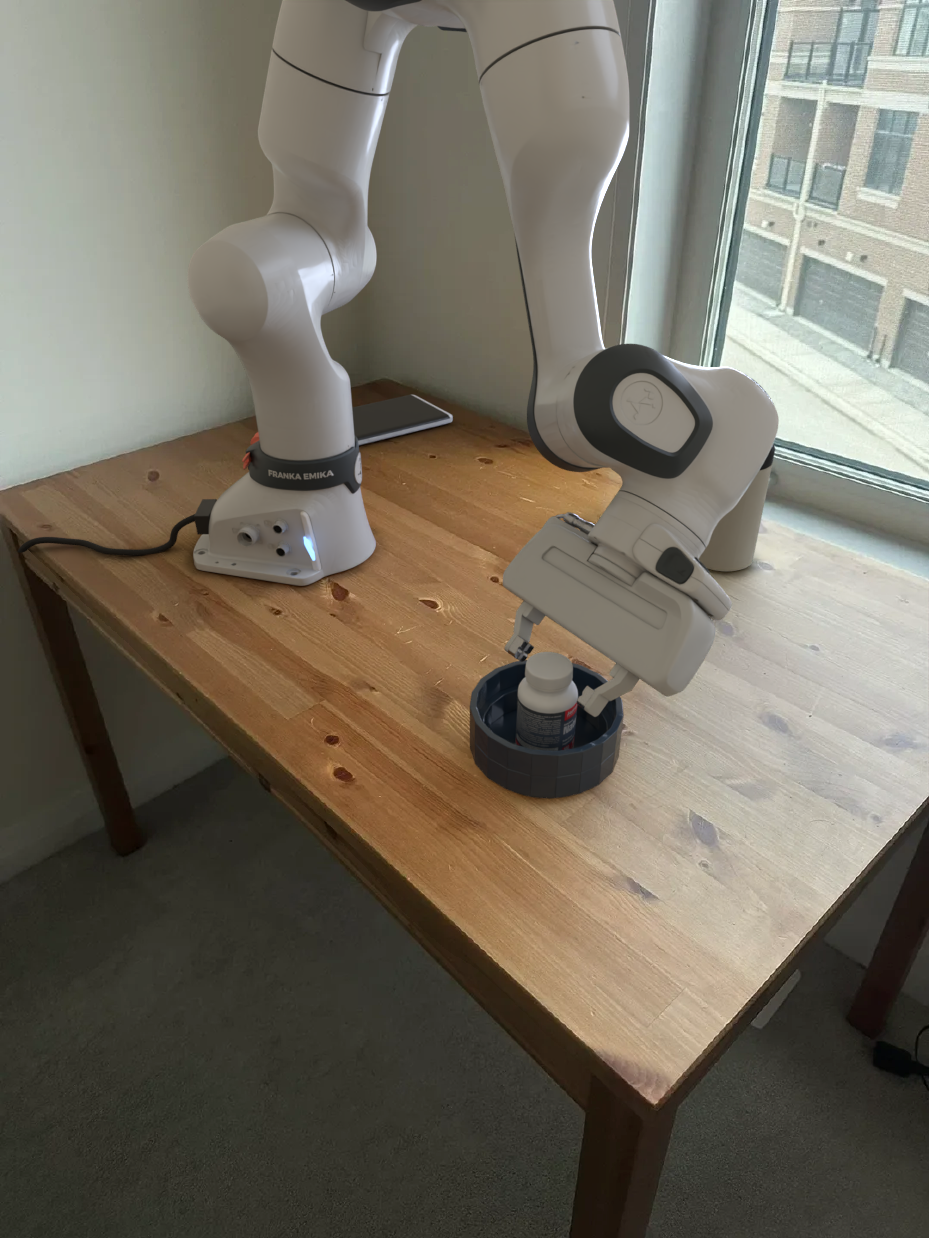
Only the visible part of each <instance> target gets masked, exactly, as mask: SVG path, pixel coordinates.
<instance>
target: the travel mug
mask: <svg viewBox="0 0 929 1238" xmlns="http://www.w3.org/2000/svg"><path fill="white" fill-rule="evenodd" d="M775 453H776V447H775V442H774V443H773V446H772V448H771V450H770V452H769V454H768V456H767V458H766V460H765V461H764V463H763V465H762V467H761V468H760V470H759V472H758V473H757V475H756V476H755V478H754V480H753V481H752V483H751V484H750V486H749V487H748V489H747V490H746V492H745V493H744V495H743V496H742V498H741V499H740V501H739V502H738V503H737V505H736V506H735V507H734V508H733V509H732V510H731V511H730V512H728V513H727V514H726V515H725V516H724V517H723V518H722V519H721V520H720V521H719V522H718V524H717V525H716V527H715V528H714V530H713V533H712V535H711V538H710V541H709V544H708V546H707V547H706V549H705V550H704V552H703V553H702V554H701V556H700V557H699V560H700V562H701V563H703V564H704V565H705V566H706V568H707V569H708V570H712V571H716V572H717V571H718V572H734V571H739V570H740V571H741V570H744V569H746V568H748V567H750V566H751V564H752V563H753V562H754V557H755V553H756V546H757V542H758V537H759V533H760V527H761V523H762V518H763V513H764V508H765V502H766V497H767V494H768V493H767V492H768V487H769V483H770V478H771V477H770V476H771V474H772V473H771V472H772V467H773V463H774V458H775Z"/></svg>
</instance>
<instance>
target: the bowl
mask: <svg viewBox="0 0 929 1238" xmlns="http://www.w3.org/2000/svg"><path fill="white" fill-rule="evenodd" d="M527 660H528V659H526V660H525V661H523V662H521V661H519V660H515V661H512V662H510V663H507V664H504V665H501V666H498V667H496V668H494V669H493V670H491V671H490V672H488V673H486V674H485V675H484V676H482V677H481V678H480V680H479V681H478V682H477V684H476V685H475V686H474V688H473V690H472V691H471V694H470V701H469V751H470V753H471V756H472V759H473V762H474V764H475V766H476V767H477V768H478V769H479V770H480V771H481V772H482V774H483V775H484V776H485V777H486V778H487V779H488V780H489V781H491V782H493V783H495V784H497V786H500V787H501V788H503V789H505V790H507V791H510V792H512V793H515V794H518V795H521V796H525V797H529V798H535V799H548V800H549V799H551V800H552V799H562V798H567V797H572V796H575V795H580V794H583V793H585V792H587V791H590V790H592V789H594V788H596V787H598V786H599V785H601V784H602V783H603V782H604V781H605V780H606V779H607V778H609V776H610V775H612V774H613V772H614V770H615V767H616V765H617V762H618V760H619V757H620V751H621V750H620V749H621V741H622V734H623V725H624V716H625V714H624V703H623V699H622V697H621V696H620V697H618V698H616V699H614V700H612V701H608V703H607V704H606V706H605V707H604V708H603V710H602V711H601V713H600V714H599V715H598V716H596V717H594V716H592V715H591V714H589V713H588V712H586V711H585V710H584V709H582V708H581V707H580V706H579V705H577V713H576V724H575V738H574V747H573V748H572V749H565V750H559V751H552V750H535V749H530V748H526V747H523V746H519V745H516V725H517V698H518V687H519V684H520V682H521V681H522V680H523V679H524V678H525V669H526V662H527ZM572 665H573V678H572V681H573V682H574V683H575V685H576V687H577V690H578V698H579V696H581V695H582V692H583V690H584V689H585V688H586V686H589V687H590V688H592V689H593V690H595V689H596V688H598V687H600V686H601V685H603V684H605V683H606V682H608V681H609V680H607V678H605V677H604V676H603V675H601V674H600V673H598V672H596V671H594V670H592V669H590V668H588V667H586V666H584V665H581V664H580V663H575V662H572Z"/></svg>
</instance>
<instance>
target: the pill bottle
mask: <svg viewBox="0 0 929 1238" xmlns="http://www.w3.org/2000/svg"><path fill="white" fill-rule="evenodd" d="M526 660H527V662H526V669H525V678H524V679H523V680H522V681H521V682H520V684H519V687H518V698H517V725H516V745H519V746H523V747H526V748H530V749H535V750H552V751H559V750H565V749H572V748H573V747H574V738H575V724H576V713H577V699H578V690H577V687H576V685H575V683H574V682H573V681H572V678H573V665H572V663H573V662H572V661H571V659H569V658H568V657H567V656H566V655H564V654H562V653H559V652H554V651H541V652H537V653H534V654H532V655H531V656H529V657H528V658H527V659H526Z"/></svg>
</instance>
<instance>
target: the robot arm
mask: <svg viewBox="0 0 929 1238" xmlns="http://www.w3.org/2000/svg"><path fill="white" fill-rule="evenodd" d="M615 6H616V5H615V2H614V0H281V4H280V8H279V12H278V17H277V21H276V24H275V30H274V35H273V40H272V46H271V50H270V57H269V62H268V67H267V68H268V69H267V74H266V79H265V85H264V90H263V91H264V92H263V97H262V102H261V103H262V104H261V109H260V116H259V121H258V127H257V139H258V143H259V147H260V149H261V150H262V153H263V154H264V156H265V158H267V160H268V161H269V163H271V168H272V176H273V198H272V203H271V206H270V208H269V210H268V211H267V213H266V215H263V216H260V217H256V218H252V219H248V220H245V221H241V222H236V223H233V224H230V225H228V226H226V227H224V228H222V229H221V230H220V231H218V232H217V233H215V234H213V236H211V237H210V238H208V239H207V240H206V241H204V242H203V243H202V244H201V245H199V246H198V248H196V249H195V251H194V252H193V253H192V256H191V257H190V260H189V263H188V267H187V273H186V277H187V278H186V279H187V281H186V282H187V290H188V294H189V296H190V300H191V303H192V305H193V307H194V309H195V312H196V313H197V315H198V316H199V317H200V319H201V321H203V323H204V324H205V325H206V326H207V328H209V329H210V330H211V331H212V332H214V333H215V334H216V335H218V336H219V337H221V338H223V339H224V340H226V342H228V343H229V345H230V346H231V348H232V349H233V350H234V352H235V354H236V356H237V357H238V359H239V361H240V363H241V365H242V368H243V370H244V372H245V375H246V378H247V381H248V383H249V387H250V392H251V397H252V403H253V408H254V414H255V420H256V428H257V432H256V433H255V434H254V435H253V437H251V439H250V445H249V446H248V447H247V448H246V450H245V455H244V456H243V457H242V461H241V463H243V464H242V465H243V466H242V468H243V470H246V469H247V471H248V472H246V473H245V474H244V475H242V476H241V477H240V478H239V479H237V480H236V481H235V482H234V483H232V484H231V485H230V486H229V487H228V488H227V489H225V490H224V491H223V492H222V493H221V494H220V495H219V497H218V498H202V499H201V501H200V503H199V505H198V507H197V509H196V511H195V513H194V514H191V515H189V516H186V517H185V518H183V519H181V520H180V521H178V522H177V523H176V524H175V525H174V526H172V528H171V531H170V535H169V539H168V541H167V542H165V543H163V544H161V545H159V546H156V547H152V548H151V547H150V548H143V549H136V548H135V549H130V548H111V547H106V546H102V545H99V544H97V543H94V542H92V541H89V540H86V539H81V538H79V539H78V538H67V537H59V536H58V537H57V536H39V537H35V538H31V539H29V540H27V541H26V542H24V543H22V545H21V546H20V547H19V548H18V549H17V551H16V552H17V553H19V554H21V553H25V552H27V551H28V550H29V549H30V548H32V547H34V546H36V545H42V544H57V545H67V546H77V547H78V546H79V547H84V548H87V549H89V550H91V551H95V552H97V553H99V554H104V555H109V556H124V557H125V556H127V557H141V556H148V555H153V554H154V555H155V554H159V553H164V552H165V551H168V550H170V549H171V548H173V547H174V546H175V544H176V543H177V540H178V535H179V532H180V531H181V530H182V529H183V528H184V527H186V526H187V525H189V524H192V523H194V524H195V529H196V534H197V535H200V536H199V538H198V540H197V541H196V544H195V545H194V548H193V551H192V556H193V557H192V558H193V564H194V567H195V568H196V570H198V571H203V572H209V573H216V574H223V575H229V576H234V577H239V578H240V577H241V578H247V579H254V580H260V581H267V582H272V583H277V584H278V583H279V584H286V585H292V586H298V587H304V586H309V585H311V584H314V583H316V582H317V581H319V580H321V579H323V578H324V577H327V576H330V575H334V574H337V573H341V572H344V571H348V570H350V569H353V568H355V567H357V566H359V565H361V564H362V563H364V562H365V561H367V560H368V559H369V558H370V557H371V556H372V555H373V553H374V552H375V550H376V547H377V541H376V538H375V535H374V533H373V531H372V529H371V525H370V523H369V520H368V516H367V512H366V508H365V504H364V500H363V495H362V494H363V493H362V489H361V488H362V487H361V486H362V482H363V468H362V453H361V451H360V445H359V444H358V439H357V437H356V436H355V435H354V424H353V411H352V408H353V397H352V389H351V385H352V384H351V379H350V375H349V373H348V372H347V370H346V369H345V367H344V366H342V364H340V363H339V362H338V361H336V360H334V359H333V358H332V357H331V355H330V353H329V350H328V348H327V346H326V343H325V339H324V337H323V332H322V326H321V322H322V316H324V315H326V314H328V313H330V312H332V311H334V310H336V309H337V310H338V308H341V307H343V306H346V305H347V304H349V302H351V301H352V300H353V299H354V298H355V297H356V296H357V295H358V294H359V293H360V292H361V291H362V290H363V289H364V288H365V287H366V286H367V284H368V283H369V282H370V281H371V279H372V278H373V275H374V273H375V270H376V267H377V257H378V255H377V247H376V242H375V238H374V236H373V233H372V231H371V230H370V228H369V226H368V221H369V220H368V215H369V214H368V213H369V212H368V211H369V210H368V208H369V189H370V188H369V187H370V178H371V173H372V167H373V162H374V158H375V154H376V149H377V145H378V142H379V137H380V134H381V129H382V125H383V121H384V117H385V114H386V109H387V106H388V102H389V98H390V94H391V90H392V85H393V82H394V79H395V78H394V77H395V73H396V70H397V64H398V60H399V56H400V52H401V50H402V47H403V43H404V42H405V39H406V37H407V36H408V35H409V34H410V32H411V31H412V30H413V29H415V28H416V27H418V26H422V27H426V28H427V27H428V28H432V27H437V28H438V29H439V30H441V31H445V32H446V31H447V32H460V33H467V35H468V39H469V43H470V45H471V51H472V55H473V61H474V67H475V72H476V77H477V82H478V87H479V93H480V97H481V102H482V106H483V110H484V114H485V119H486V123H487V126H488V131H489V135H490V138H491V143H492V146H493V152H494V154H495V158H496V162H497V166H498V171H499V174H500V178H501V181H502V186H503V190H504V196H505V200H506V204H507V205H506V206H507V209H508V213H509V217H510V221H511V226H512V230H513V235H514V241H515V248H516V255H517V263H518V268H519V274H520V282H521V288H522V294H523V300H524V306H525V311H526V316H527V317H526V318H527V323H528V330H529V335H530V336H529V337H530V343H531V348H532V349H531V350H532V359H533V363H532V364H533V369H532V378H531V384H530V390H529V395H528V398H527V399H528V400H527V407H526V423H527V424H526V425H527V429H528V434H529V437H530V439H531V441H532V443H533V445H534V447H535V448H536V451H538V452H539V454H540V455H541V456H542V457H543V458H544V459H545V460H546V461H548V463H550V464H552V465H553V466H554V467H557V468H559V469H562V470H565V471H567V472H573V473H588V472H593V471H596V470H599V469H604V468H605V469H607V468H608V469H611V470H612V471H613V472H614V473H616V474H617V475H618V476H619V477H620V478H621V487H620V488H619V489H618V491H617V493H616V494H615V495H614V497H613V498H612V500H611V501H610V502H609V504H608V505H607V507H606V508H605V510H604V511H603V512H602V514H601V515H600V517H599V518H598V520H597V521H596V522H595V523H593V522H591V521H588V520H586V519H583V518H582V517H580V515H578V514H577V513H574V512H570V511H567V512H565V513H559V514H557V515H556V514H555V515H553V516H550V517H548V519H547V520H546V521H545V523H544V524H543V526H542V527H541V529H539V530H538V531H537V532H536V533H535V534H534V535H533V536H532V537H531V538H530V539H529V540H528V542H526V543H525V545H524V546H523V547H522V548H521V549H520V550H519V552H518V553H517V554H516V555H515V557H514V558H513V559H512V560H511V561H510V563H509V564H508V565H507V567H506V568H505V570H504V571H503V574H502V587H503V588H505V589H506V590H507V591H509V592H510V593H511V594H513V596H516V597H517V598H518V599H520V600H521V601H522V602H521V604H520V605H519V607H518V608H517V609H516V612H515V618H514V624H513V634H512V636H511V637H510V638H509V639H508V641H507V642H506V644H505V645H504V651H505V652H506V653H508V654H509V655H510V656H511V657H513V658H514V659H516V661H521V662H523V661H525V660H528V658H529V657H528V656H529V655H530V654H531V653H532V652H533V650H534V649H535V646H533V645H532V644H531V643H530V640H531V636H532V632H533V628H534V624H535V625H536V626H539V625H540V624H541V623H542V621H543V620H544V618H545V617H546V618H548V619H549V620H551V621H552V622H554V623H556V624H557V625H559V626H560V627H562V628H563V629H564V630H566V631H568V632H569V633H570V634H572V635H574V636H575V637H576V638H578V639H579V640H581V641H583V642H584V643H585V644H587V645H588V646H590V647H591V648H593V649H594V650H596V651H597V652H599V653H600V654H602V655H603V656H605V657H606V658H608V659H610V660H611V661H612V662H614V663H615V664H614V665H613V667H612V668H611V669H610V671H609V673H608V675H609V677H612V679H610V680H607V681H608V682H606V683H605V684H603V685H601V686H600V687H598V688H596V689H595V690H593V689H592V688H590V687H589V686H586V688H585V689H584V690H583V692H582V695H581V696H579V698H578V699H577V705H579V706H580V707H581V708H582V709H584V710H585V711H586V712H588V713H589V714H591V715H592V716H594V717H596V716H598V715H599V714H600V713H601V711H602V710H603V708H604V707H605V706H606V704H607V703H608V701H612V700H614V699H616V698H618V697H621V696H624V695H626V694H628V693H629V692H632V691H633V689H634V688H635V687H636V685H637V684H638V682H639V681H642V682H643V683H645V684H646V685H648V686H649V687H651V688H652V689H654V690H655V691H657V692H658V693H660V694H661V695H663V696H664V697H667V698H669V697H672V696H674V695H678V694H680V693H682V692H683V691H684V690H685V689H686V688H687V687H688V685H689V684H690V682H691V681H692V680H693V679H694V677H695V676H696V674H697V673H698V670H699V669H700V668H701V666H702V664H703V663H704V661H705V659H706V658H707V655H708V654H709V652H710V650H711V648H712V646H713V644H714V641H715V638H716V625H715V623H714V621H722V620H723V619H724V618H725V617H727V615H728V614H729V612H730V611H731V609H732V607H733V602H732V599H731V598H730V596H728V594H727V593H726V591H725V590H724V589H723V587H721V585H720V584H719V583H718V582H717V580H716V579H715V578H714V577H713V576H712V575H711V572H710V569H707V568H706V566H705V565H704V564H703V563H701V562H700V560H699V557H700V556H701V554H702V553H703V552H704V550H705V549H706V547H707V546H708V544H709V541H710V538H711V535H712V533H713V530H714V528H715V527H716V525H717V524H718V522H719V521H720V520H721V519H722V518H723V517H724V516H725V515H726V514H727V513H728V512H730V511H731V510H732V509H733V508H734V507H735V506H736V505H737V503H738V502H739V501H740V499H741V498H742V496H743V495H744V493H745V492H746V490H747V489H748V487H749V486H750V484H751V483H752V481H753V480H754V478H755V476H756V475H757V473H758V472H759V470H760V468H761V467H762V465H763V463H764V461H765V460H766V458H767V456H768V454H769V452H770V450H771V448H772V446H773V443H774V444H775V440H776V438H777V434H778V430H779V421H780V420H779V414H778V410H777V408H776V406H775V404H774V402H773V400H772V398H771V397H770V395H769V393H768V392H767V391H766V389H764V388H763V387H762V386H761V385H760V384H759V383H758V382H757V381H756V380H755V379H754V378H752V377H750V376H748V375H747V374H746V373H744V372H743V371H740V370H738V369H736V368H734V367H730V366H724V365H723V366H717V367H716V366H714V367H708V366H707V367H706V366H701V365H694V364H689V363H684V362H681V361H679V360H675V359H673V358H672V357H671V358H670V357H668V356H666V355H664V354H662V353H660V352H659V351H657V350H656V349H654V348H652V347H650V346H647V345H644V344H638V343H621V344H616V345H611V346H608V347H605V346H604V342H603V336H602V330H601V322H600V321H601V320H600V314H599V306H598V300H597V293H596V287H595V286H596V285H595V278H594V271H593V263H592V244H593V235H594V230H595V224H596V221H597V217H598V214H599V211H600V208H601V205H602V202H603V200H604V198H605V194H606V192H607V190H608V189H609V188H608V187H609V185H610V183H611V181H612V178H613V177H614V174H615V172H616V170H617V168H618V166H619V164H620V162H621V160H622V158H623V156H624V153H625V151H626V147H627V144H628V141H629V136H630V85H629V84H630V83H629V82H630V81H629V74H628V68H627V61H626V56H625V50H624V44H623V39H622V34H621V29H620V24H619V19H618V14H617V10H616V7H615ZM562 519H563V520H562Z"/></svg>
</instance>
